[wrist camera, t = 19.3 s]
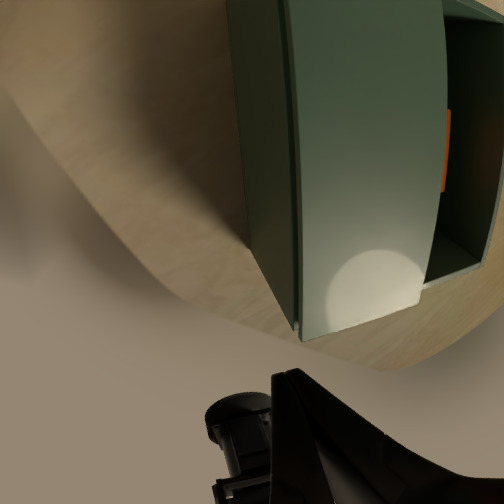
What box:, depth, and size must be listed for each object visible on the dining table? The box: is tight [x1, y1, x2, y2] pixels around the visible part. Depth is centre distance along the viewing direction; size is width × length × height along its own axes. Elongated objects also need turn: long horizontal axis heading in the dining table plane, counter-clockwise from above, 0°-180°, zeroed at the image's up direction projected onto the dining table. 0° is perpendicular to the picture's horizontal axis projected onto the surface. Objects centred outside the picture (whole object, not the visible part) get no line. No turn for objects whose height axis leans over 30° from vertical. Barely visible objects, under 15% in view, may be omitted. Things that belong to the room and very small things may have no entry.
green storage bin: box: [226, 0, 504, 331], centre depth 14 cm, size 15×13×8 cm
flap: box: [283, 0, 447, 342], centre depth 10 cm, size 15×6×1 cm, turn 5°
